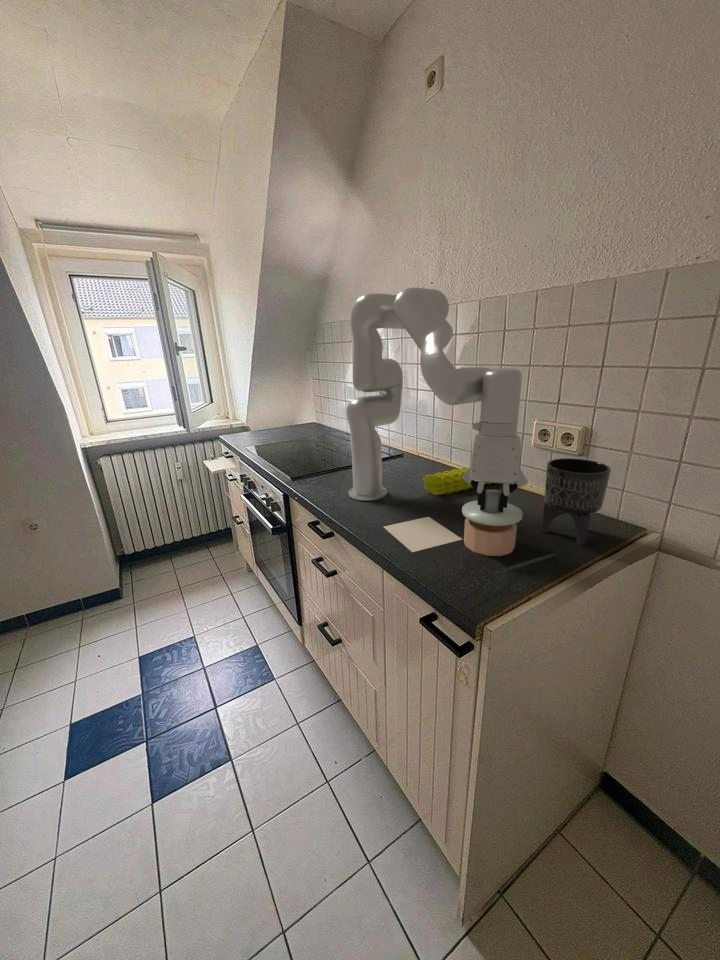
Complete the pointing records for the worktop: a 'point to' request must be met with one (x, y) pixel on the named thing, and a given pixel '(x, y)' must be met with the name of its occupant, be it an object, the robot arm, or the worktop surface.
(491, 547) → the bowl
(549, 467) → the planter
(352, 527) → the worktop surface
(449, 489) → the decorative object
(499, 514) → the lid
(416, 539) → the mat
